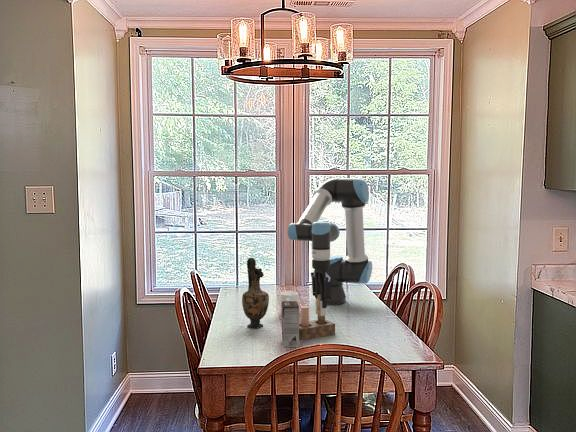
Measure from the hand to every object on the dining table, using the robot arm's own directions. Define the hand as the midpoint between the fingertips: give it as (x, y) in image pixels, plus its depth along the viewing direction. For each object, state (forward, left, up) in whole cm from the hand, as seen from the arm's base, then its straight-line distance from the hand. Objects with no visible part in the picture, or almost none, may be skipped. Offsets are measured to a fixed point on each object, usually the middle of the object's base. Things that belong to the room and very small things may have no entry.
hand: (321, 314), depth 230 cm
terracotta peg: (+8, 0, -8) cm, 11 cm away
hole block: (+4, 0, -8) cm, 9 cm away
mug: (-1, -31, -8) cm, 32 cm away
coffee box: (+18, +6, -8) cm, 20 cm away
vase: (+20, -23, -8) cm, 32 cm away
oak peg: (0, 0, -4) cm, 4 cm away
